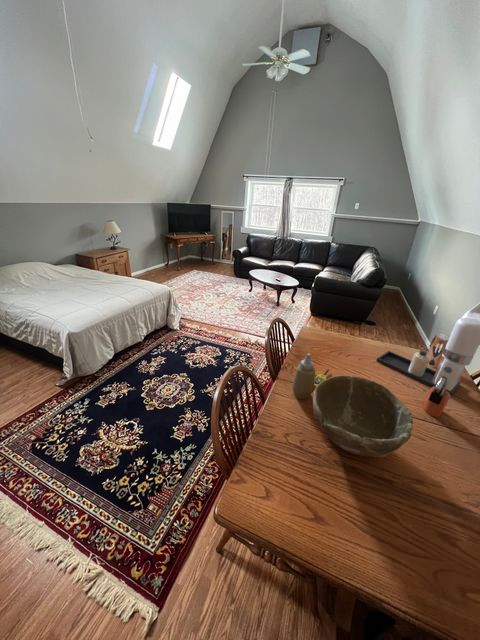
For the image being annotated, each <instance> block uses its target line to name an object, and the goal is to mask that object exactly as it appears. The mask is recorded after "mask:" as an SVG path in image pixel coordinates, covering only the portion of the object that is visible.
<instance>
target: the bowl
mask: <svg viewBox="0 0 480 640" xmlns="http://www.w3.org/2000/svg"><path fill="white" fill-rule="evenodd" d="M312 408H313V415H314V418H315V420H316V422H317V424H318V426H319V428H320V429H321V430H322V432H323V434H325V436H326V437H328V439H329V440H330V441H331V442H332V443H334V445H336V446H337V447H339V448H340V449H342V450H344V451H345V452H348V453H351V454H353V455H357V456H359V457H372V458H383V457H386V456H388V455H390V454H391V453H393V452H395V451H397V450H399V449H400V448H401V447H403V446H404V445H405V444H406V443H407V442H408V441H409V439H410V438H411V437H412V435H411V433H412V431H413V427H414V426H413V424H414V423H413V422H414V420H413V415H412V412H411V411H410V409H409V408H408V407H407V405H405V403H404V402H403V401H402V400H401V399H399V397H398V396H396V394H394V393H393V392H392V391H391V390H390V389H389V388H388V387H386V386H384V385H383V384H381V383H379V382H377V381H374V380H371V379H367V378H365V377H362V376H356V375H351V376H350V375H347V374H345V375H344V374H341V375H340V374H339V375H334V376H331V377H327V378H326V380H324V381H322V382H321V383H319V384H318V386H317V387H316V389H315V388H314V390H313V396H312Z"/></svg>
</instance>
